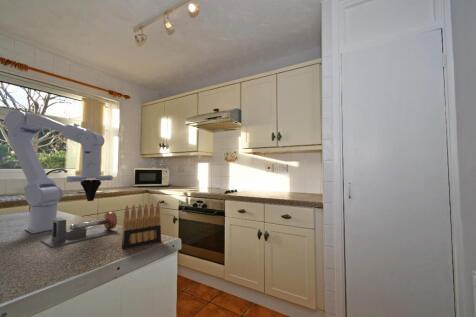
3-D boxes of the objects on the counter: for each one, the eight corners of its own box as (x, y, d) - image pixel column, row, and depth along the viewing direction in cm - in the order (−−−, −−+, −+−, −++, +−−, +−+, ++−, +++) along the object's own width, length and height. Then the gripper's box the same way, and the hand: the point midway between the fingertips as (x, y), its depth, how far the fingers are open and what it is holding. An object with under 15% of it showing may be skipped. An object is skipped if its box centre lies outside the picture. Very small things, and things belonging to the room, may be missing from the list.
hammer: (65, 235, 72) (66, 217, 72) (110, 226, 83) (111, 210, 84) (72, 239, 68) (73, 219, 69) (119, 229, 80) (119, 212, 80)
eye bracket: (40, 241, 68) (41, 218, 69) (103, 228, 83) (103, 210, 83) (51, 247, 63) (52, 223, 63) (116, 232, 77) (117, 213, 78)
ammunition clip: (123, 249, 62) (124, 206, 62) (121, 247, 63) (122, 205, 64) (161, 241, 68) (162, 202, 69) (159, 240, 70) (159, 201, 70)
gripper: (72, 163, 75) (71, 204, 74) (116, 164, 87) (115, 199, 86) (65, 163, 79) (63, 202, 78) (108, 164, 91) (107, 198, 90)
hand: (90, 200), depth 82 cm, fingers closed
